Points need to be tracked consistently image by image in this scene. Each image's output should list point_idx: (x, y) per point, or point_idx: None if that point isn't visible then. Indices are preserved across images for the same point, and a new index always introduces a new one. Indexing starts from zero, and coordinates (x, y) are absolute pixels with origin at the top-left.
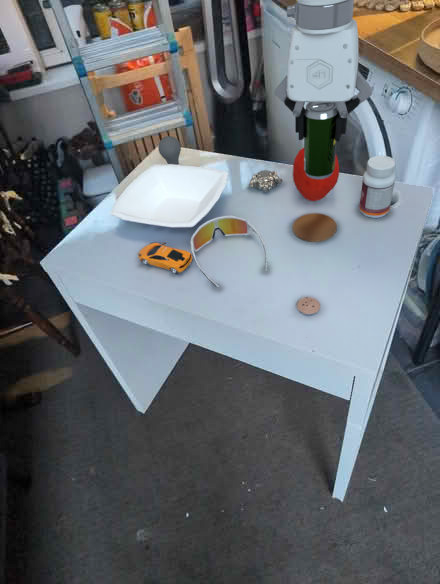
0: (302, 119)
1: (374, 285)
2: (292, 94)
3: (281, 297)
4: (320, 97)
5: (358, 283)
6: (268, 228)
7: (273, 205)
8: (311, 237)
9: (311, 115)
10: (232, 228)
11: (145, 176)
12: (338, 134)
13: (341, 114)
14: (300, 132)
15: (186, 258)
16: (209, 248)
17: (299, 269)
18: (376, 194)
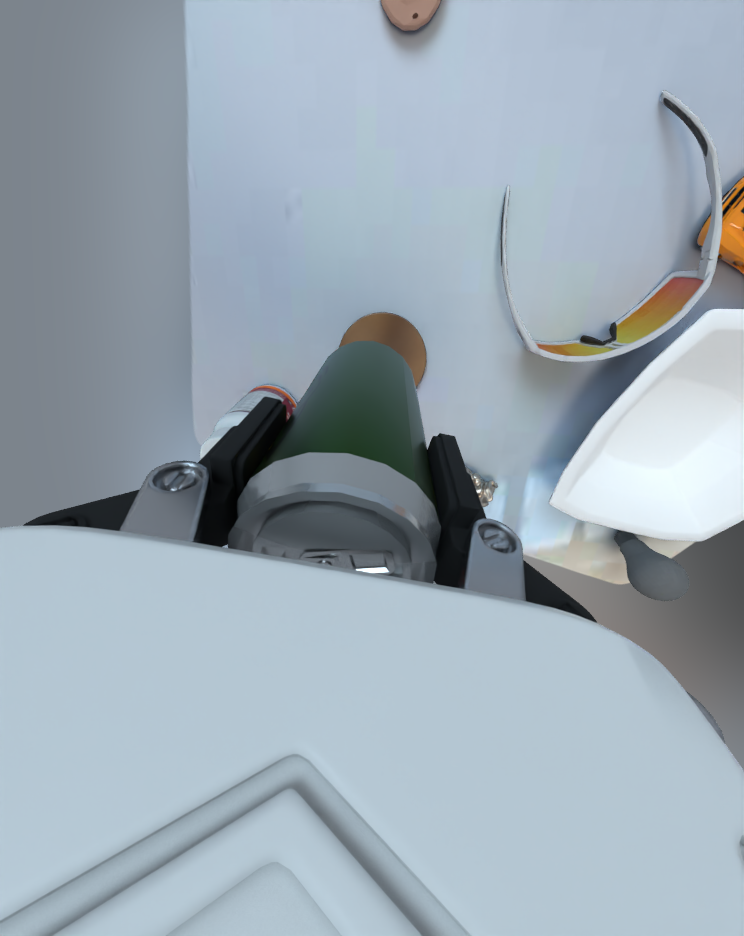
0: (452, 499)
1: (244, 123)
2: (665, 707)
3: (484, 45)
4: (300, 609)
5: (282, 132)
6: (475, 364)
7: (455, 434)
8: (389, 324)
9: (402, 493)
10: (563, 351)
11: (734, 511)
12: (258, 411)
13: (201, 484)
14: (451, 453)
15: (739, 208)
16: (626, 295)
17: (422, 199)
18: (252, 405)
